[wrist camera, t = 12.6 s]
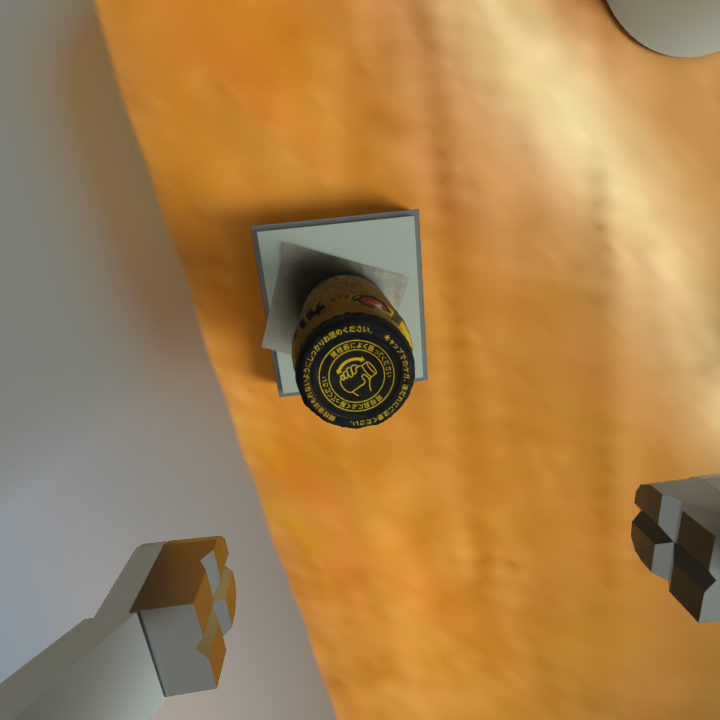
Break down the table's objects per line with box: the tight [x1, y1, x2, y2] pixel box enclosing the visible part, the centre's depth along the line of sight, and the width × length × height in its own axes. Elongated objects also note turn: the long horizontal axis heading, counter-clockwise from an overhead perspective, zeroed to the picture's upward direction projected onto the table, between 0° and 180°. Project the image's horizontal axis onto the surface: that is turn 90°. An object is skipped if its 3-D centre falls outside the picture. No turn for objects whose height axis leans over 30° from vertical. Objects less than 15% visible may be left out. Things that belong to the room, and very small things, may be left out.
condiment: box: [261, 242, 415, 429], centre depth 24 cm, size 7×8×12 cm
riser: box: [251, 209, 428, 397], centre depth 31 cm, size 12×11×3 cm
